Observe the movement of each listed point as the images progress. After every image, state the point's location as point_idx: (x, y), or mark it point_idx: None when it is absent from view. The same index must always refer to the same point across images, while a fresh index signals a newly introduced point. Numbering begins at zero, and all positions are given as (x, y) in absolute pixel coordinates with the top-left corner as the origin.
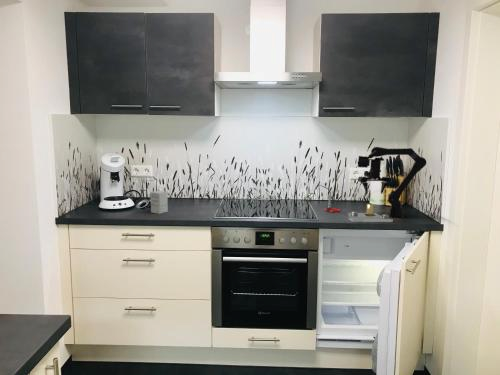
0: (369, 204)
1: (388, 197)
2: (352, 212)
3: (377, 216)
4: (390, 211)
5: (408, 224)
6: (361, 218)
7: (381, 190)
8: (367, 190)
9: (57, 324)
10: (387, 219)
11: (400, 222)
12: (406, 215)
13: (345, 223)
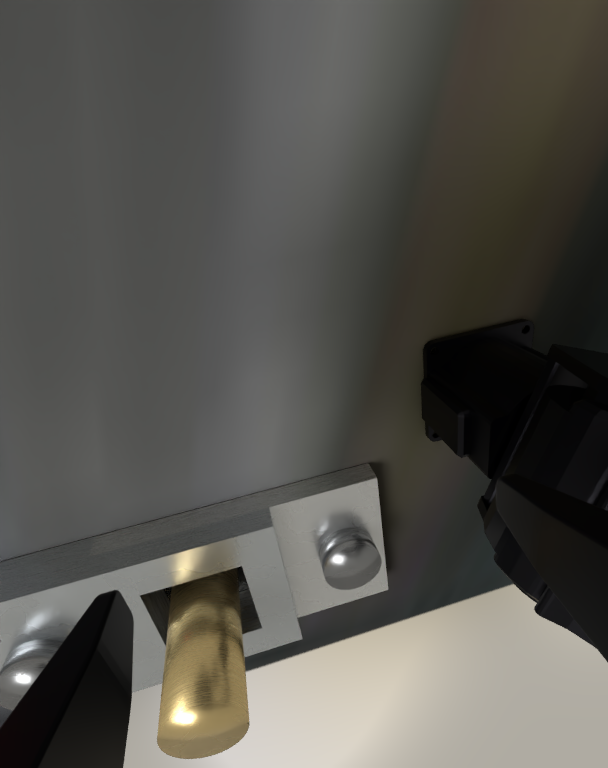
0: (190, 735)
1: (527, 577)
2: (11, 708)
3: (267, 643)
4: (445, 442)
5: (462, 593)
6: None
7: (559, 554)
8: (125, 746)
9: None
10: (345, 601)
11: (431, 563)
12: (601, 295)
13: (3, 722)
